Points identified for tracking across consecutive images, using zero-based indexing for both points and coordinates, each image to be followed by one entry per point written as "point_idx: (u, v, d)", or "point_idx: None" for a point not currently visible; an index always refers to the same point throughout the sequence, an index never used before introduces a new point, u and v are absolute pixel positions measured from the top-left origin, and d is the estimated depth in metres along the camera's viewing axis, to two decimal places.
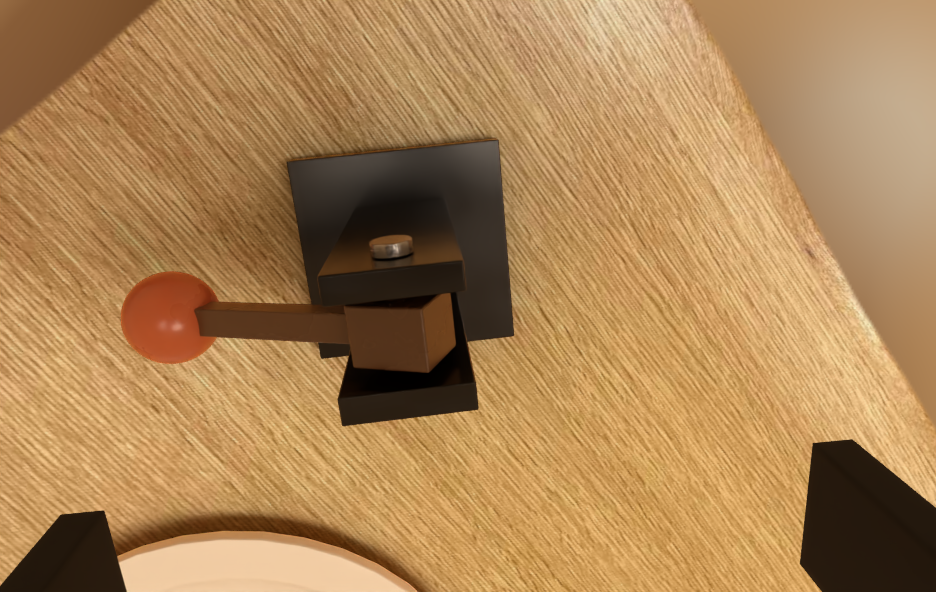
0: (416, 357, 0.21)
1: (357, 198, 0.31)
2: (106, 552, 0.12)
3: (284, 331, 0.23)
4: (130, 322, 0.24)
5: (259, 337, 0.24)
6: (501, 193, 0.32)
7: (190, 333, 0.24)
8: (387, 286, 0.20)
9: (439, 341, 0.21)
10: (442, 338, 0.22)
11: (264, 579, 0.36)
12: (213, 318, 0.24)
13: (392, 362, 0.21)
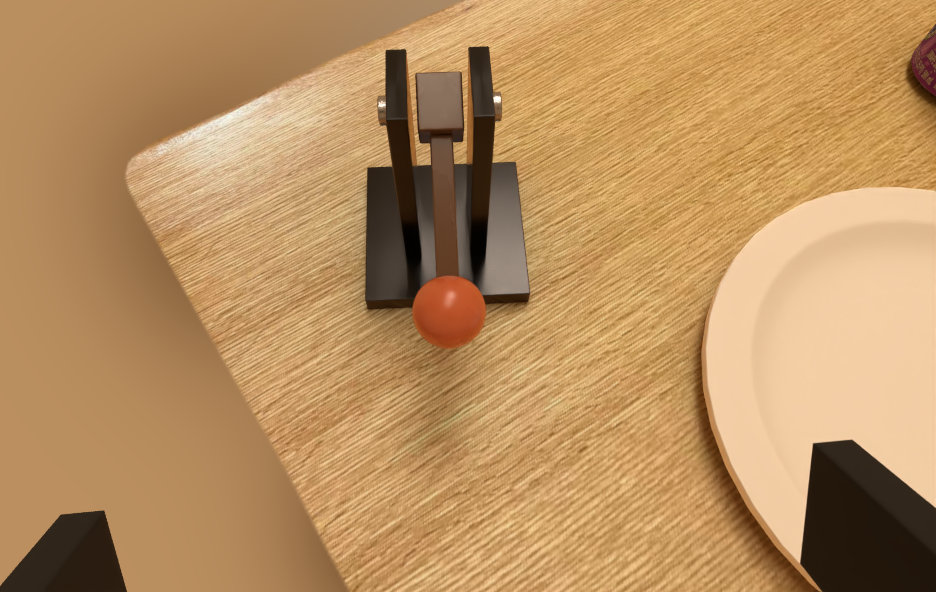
0: (450, 78, 0.31)
1: (399, 256, 0.41)
2: (106, 552, 0.12)
3: (447, 195, 0.32)
4: (440, 315, 0.30)
5: (454, 219, 0.32)
6: None
7: (453, 278, 0.31)
8: (397, 85, 0.31)
9: None
10: None
11: (751, 352, 0.37)
12: (442, 259, 0.32)
13: (455, 97, 0.31)
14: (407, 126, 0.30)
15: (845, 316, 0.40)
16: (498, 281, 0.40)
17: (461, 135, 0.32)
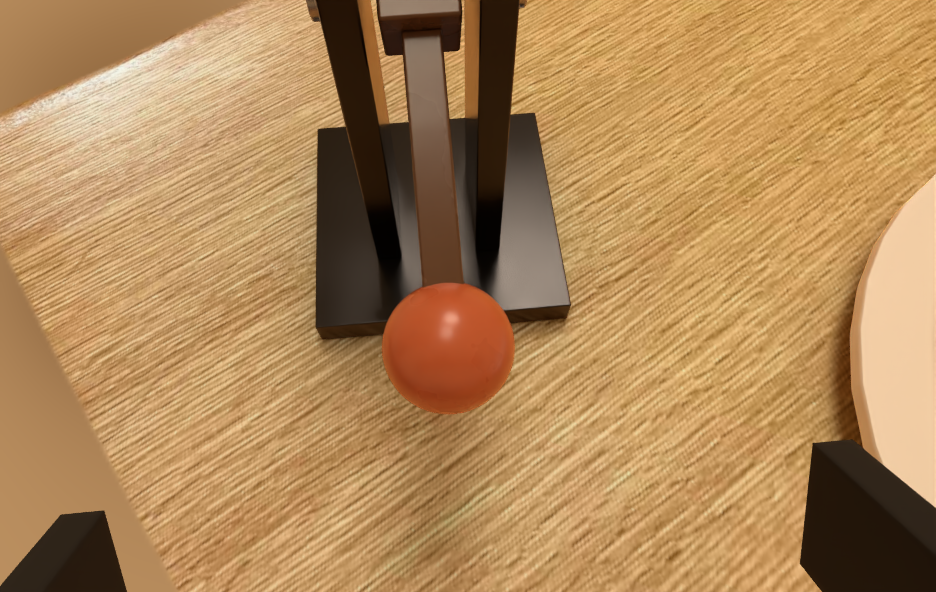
0: None
1: (366, 256, 0.27)
2: (106, 552, 0.12)
3: (436, 139, 0.18)
4: (432, 358, 0.16)
5: (451, 181, 0.18)
6: None
7: (454, 287, 0.17)
8: None
9: None
10: None
11: (935, 386, 0.23)
12: (432, 254, 0.17)
13: None
14: (356, 5, 0.16)
15: None
16: (521, 288, 0.26)
17: (457, 32, 0.18)
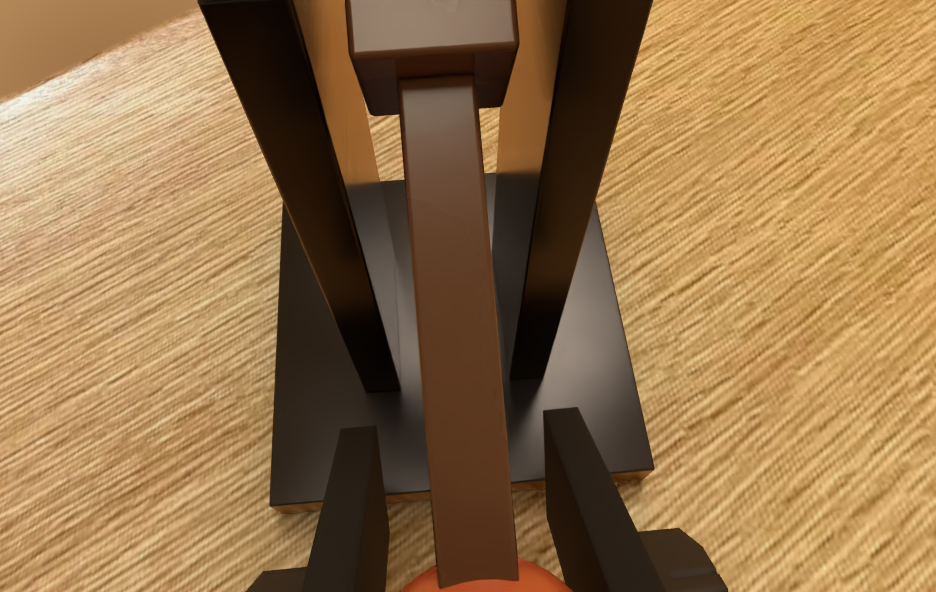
0: None
1: (348, 386, 0.18)
2: (379, 460, 0.14)
3: (466, 291, 0.09)
4: None
5: (494, 374, 0.09)
6: None
7: None
8: None
9: None
10: None
11: None
12: (457, 522, 0.09)
13: None
14: (298, 33, 0.07)
15: None
16: None
17: (504, 79, 0.09)
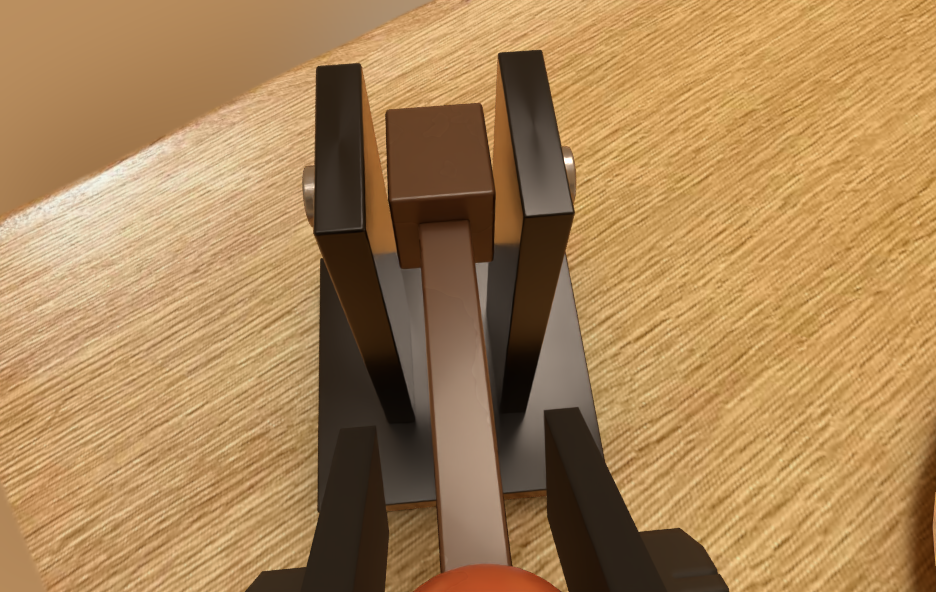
0: (459, 113, 0.15)
1: (375, 419, 0.24)
2: (378, 460, 0.14)
3: (464, 343, 0.12)
4: None
5: (486, 399, 0.12)
6: None
7: (496, 568, 0.10)
8: (341, 147, 0.13)
9: None
10: None
11: None
12: (457, 513, 0.10)
13: (473, 141, 0.14)
14: (367, 243, 0.13)
15: None
16: None
17: (490, 228, 0.14)
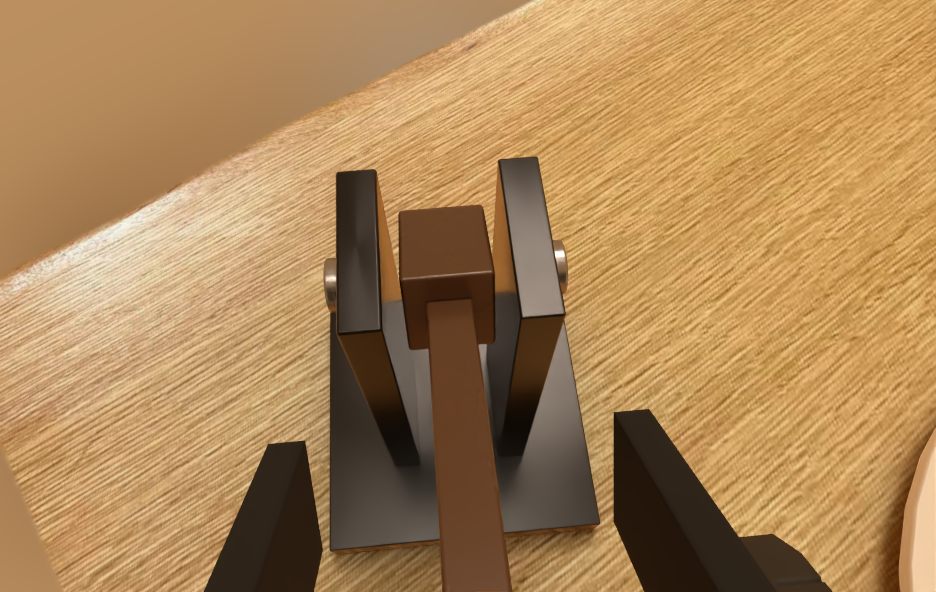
0: (462, 212, 0.17)
1: (383, 462, 0.25)
2: (307, 476, 0.13)
3: (466, 399, 0.13)
4: None
5: (487, 446, 0.12)
6: None
7: None
8: (359, 251, 0.15)
9: None
10: None
11: None
12: (459, 546, 0.11)
13: (474, 232, 0.16)
14: (383, 338, 0.15)
15: None
16: (547, 503, 0.25)
17: (491, 307, 0.16)
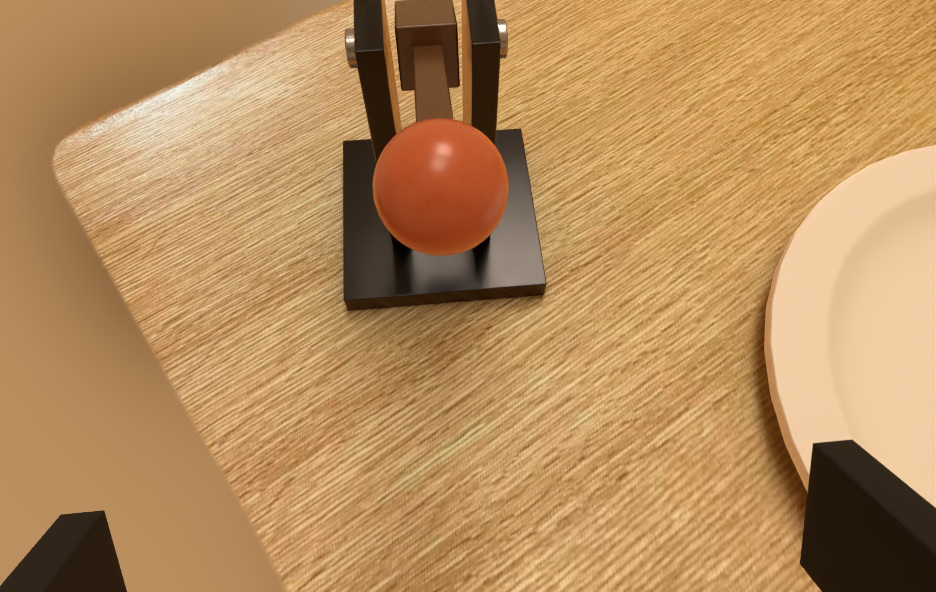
0: (438, 0, 0.25)
1: (383, 244, 0.33)
2: (106, 552, 0.12)
3: (436, 80, 0.21)
4: (420, 133, 0.16)
5: (446, 95, 0.20)
6: None
7: None
8: (369, 9, 0.23)
9: None
10: None
11: (828, 346, 0.30)
12: None
13: (445, 8, 0.24)
14: (384, 61, 0.23)
15: (934, 298, 0.33)
16: (507, 270, 0.33)
17: (455, 54, 0.24)
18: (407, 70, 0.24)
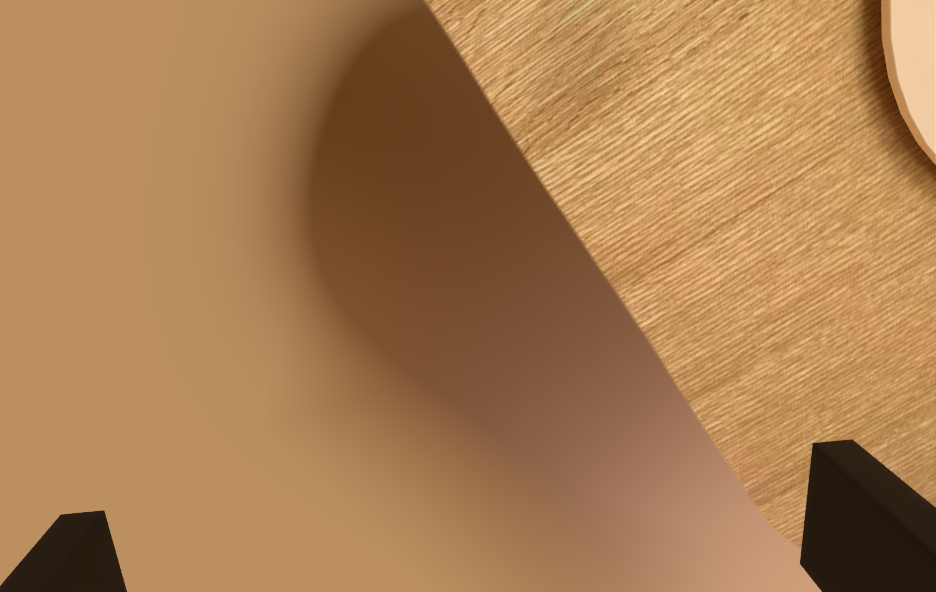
0: None
1: None
2: (106, 552, 0.12)
3: None
4: None
5: None
6: None
7: None
8: None
9: None
10: None
11: None
12: None
13: None
14: None
15: None
16: None
17: None
18: None
